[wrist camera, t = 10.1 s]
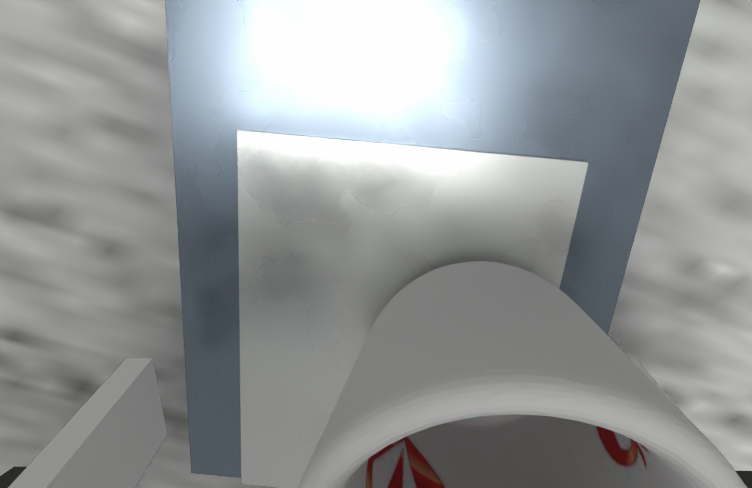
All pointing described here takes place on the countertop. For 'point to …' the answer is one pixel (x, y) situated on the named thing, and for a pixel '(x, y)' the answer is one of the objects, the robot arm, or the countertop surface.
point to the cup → (503, 397)
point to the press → (390, 181)
